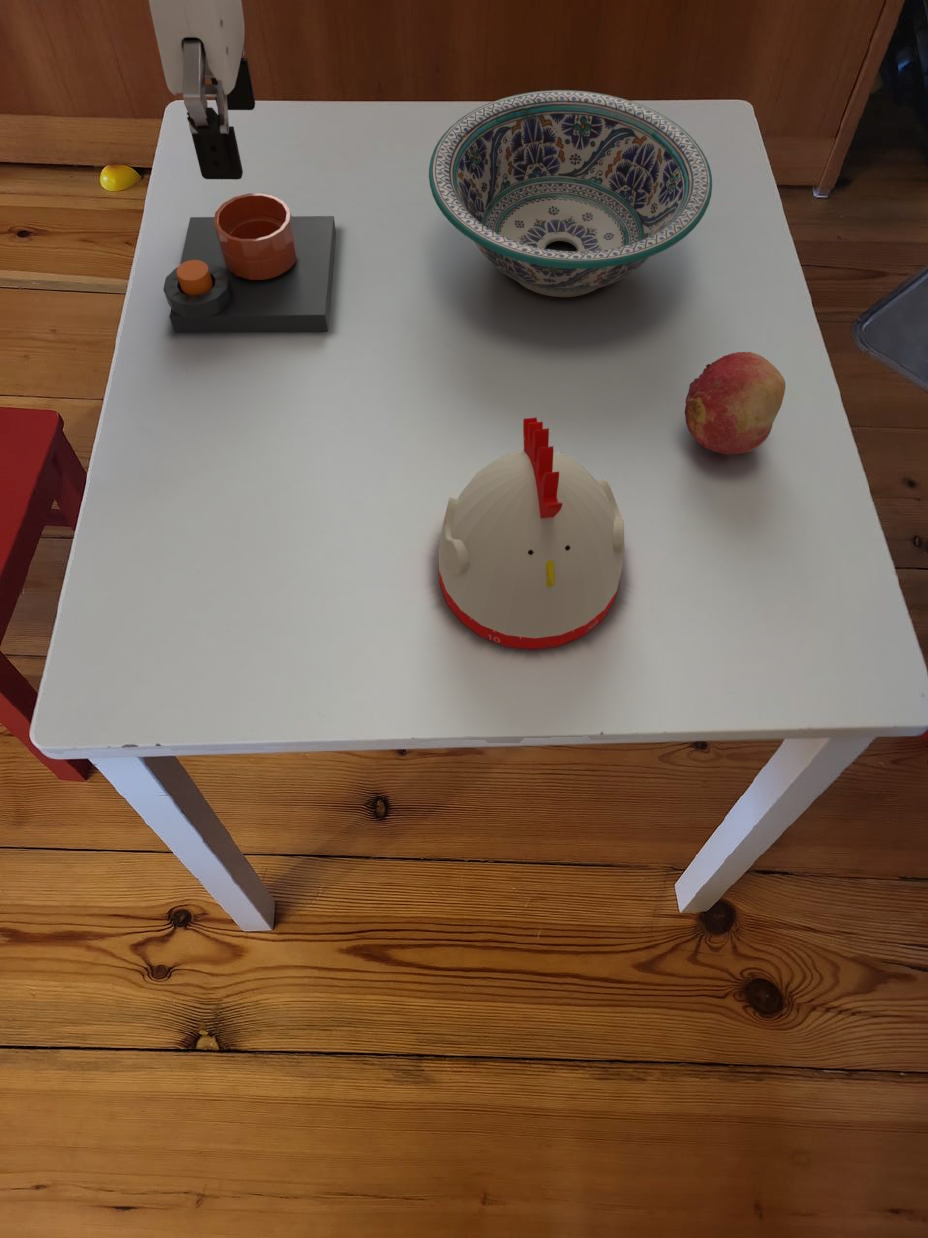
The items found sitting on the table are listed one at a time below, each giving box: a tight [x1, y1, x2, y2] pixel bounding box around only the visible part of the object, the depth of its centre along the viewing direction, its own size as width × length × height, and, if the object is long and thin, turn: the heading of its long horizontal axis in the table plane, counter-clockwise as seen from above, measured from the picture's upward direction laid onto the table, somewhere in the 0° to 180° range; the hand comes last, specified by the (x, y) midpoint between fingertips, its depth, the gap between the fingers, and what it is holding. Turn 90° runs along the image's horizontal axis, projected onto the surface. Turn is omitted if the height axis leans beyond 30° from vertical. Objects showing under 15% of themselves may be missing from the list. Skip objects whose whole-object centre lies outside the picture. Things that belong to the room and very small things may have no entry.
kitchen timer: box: [438, 417, 625, 650], centre depth 64 cm, size 14×14×15 cm
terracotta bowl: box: [213, 192, 298, 280], centre depth 83 cm, size 7×7×5 cm
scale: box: [163, 215, 337, 334], centre depth 85 cm, size 14×14×4 cm
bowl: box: [428, 89, 713, 298], centre depth 84 cm, size 25×25×10 cm
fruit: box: [684, 351, 786, 455], centre depth 73 cm, size 8×8×8 cm
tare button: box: [176, 260, 213, 296], centre depth 81 cm, size 3×3×2 cm
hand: (230, 141), depth 75 cm, fingers open, 9 cm apart
